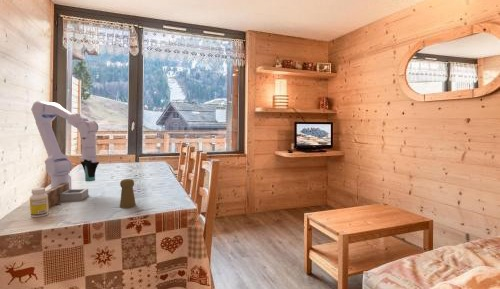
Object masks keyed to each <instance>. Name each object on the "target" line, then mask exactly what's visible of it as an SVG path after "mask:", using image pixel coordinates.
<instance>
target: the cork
mask: <svg viewBox="0 0 500 289" xmlns="http://www.w3.org/2000/svg"><path fill="white" fill-rule="evenodd" d="M134 185H135V181H134V180H133V179H132V178H124V179H121V180H120V183H119V186H120V187H121V190H120V192H121V193H120V201H119V208H121V209H131V207H132V208H135V207H136V206H137V204H136V198H135V192H134ZM134 206H135V207H134Z"/></svg>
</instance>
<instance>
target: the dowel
mask: <svg viewBox="0 0 500 289" xmlns="http://www.w3.org/2000/svg"><path fill="white" fill-rule="evenodd" d="M84 176H85V177H84V180H85V182H96V175H95V176H94V177H90V178H89V176H88V171H87V167H86V166H85V172H84Z"/></svg>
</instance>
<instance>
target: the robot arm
mask: <svg viewBox="0 0 500 289" xmlns="http://www.w3.org/2000/svg"><path fill="white" fill-rule="evenodd" d="M31 113H32V115H33V119H34V120H35V123H36V127H37V129H38V132H39V135H40V137H41V140H42V143H43V145H44V146H43V147H44V148H45V151H46V153H47V155H48V156H47V158H45V160H44V164H45V171H46V173H47V175H48V176H49V177H50V189H51V188H53V187H55V186H57V185H59V184H61V183H69V189H73V187H72V176H71V175H70V172H71V171H72V169H73V163H72V161H71V160H70V159H69V157H68V156H67V155H66V154H64V153H62V150H61V148H60V145H59V143H58V140H57V137H56V134H55V132H54V130H53V127H52V124H51V122H53V121H54V120H55V118H57V116H59V117H61V118H63V119H65V120H67V123H68V124H69V125H71V126H72V127H74V128H76V129H77V130H78V132H79V134H80V138H81V156H79V158H78V159H79V160H81V161H80V164H81V166H82V168H83V172H84V173H85V166H86V167H87V171H88V176H89V178H90V177H94V176H95V177H96V171H97V169H98V168H97V167H98V166H99V163H100V162H99V161H98V158H97V138H96V137H97V136H96V134H97V132H98V131H99V125H98V123H97V122H96V121H95V120H89V119H88V118H87V117H84V116H82V115H81V113H79V112H73V113H71V111H69V110H67V109H66V108H64V107H63V106H62V105H61V104H59V103H58V102H56V101H55V102H53V101H52V102H49V101H39V100H37V101H35V102H34V103H33V104H32V107H31Z"/></svg>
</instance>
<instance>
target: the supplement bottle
mask: <svg viewBox="0 0 500 289" xmlns="http://www.w3.org/2000/svg"><path fill="white" fill-rule="evenodd" d="M45 191H46V188H45V187H35V188H32V189H31V194H32V195H30V196H29V205H30V206H29V208H30V216H31V217H32V218H40V217H45V216H48V215H49V213H50V208H49V205H48V195H47V194H45Z"/></svg>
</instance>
